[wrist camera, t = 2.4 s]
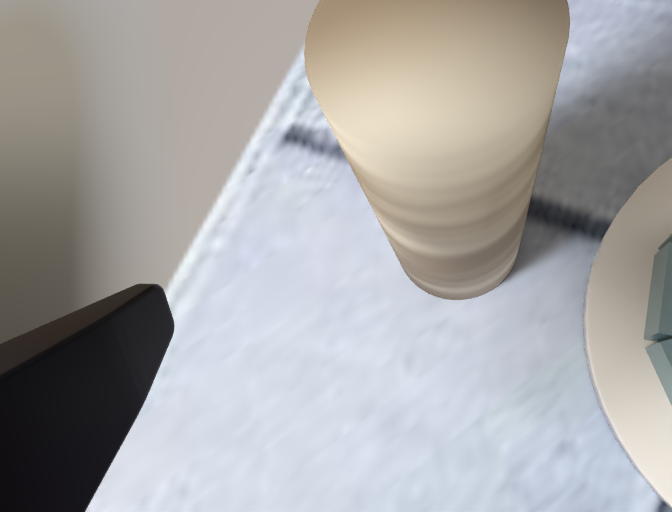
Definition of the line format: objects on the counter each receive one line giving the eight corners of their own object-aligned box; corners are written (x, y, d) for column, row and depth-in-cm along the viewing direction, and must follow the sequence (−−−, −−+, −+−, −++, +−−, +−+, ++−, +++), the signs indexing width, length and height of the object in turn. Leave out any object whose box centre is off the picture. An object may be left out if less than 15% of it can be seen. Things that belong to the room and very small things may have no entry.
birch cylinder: (537, 277, 19) (617, 88, 8) (417, 315, 20) (340, 188, 9) (493, 170, 21) (510, -112, 10) (382, 209, 22) (280, -14, 10)
